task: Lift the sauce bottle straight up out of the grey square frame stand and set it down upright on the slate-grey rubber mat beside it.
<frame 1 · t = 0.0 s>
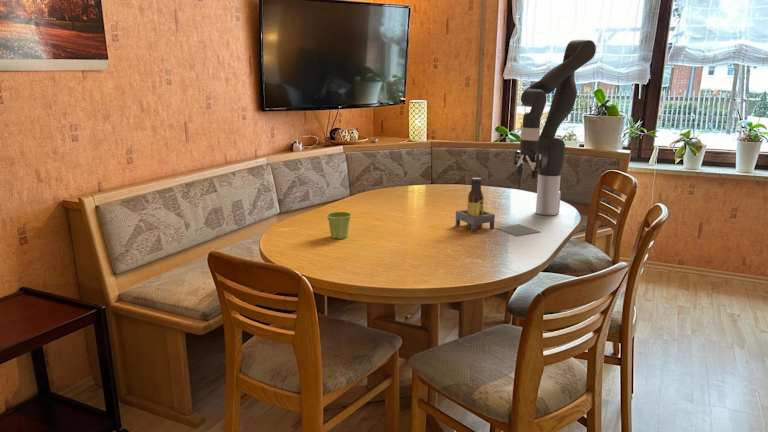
hand: (526, 177, 243), 17 cm above the table, tool pointing down, fingers open, 8 cm apart
sauce bottle: (474, 227, 231), on the table
plant pot: (339, 237, 217), on the table
grey square frame stand: (474, 227, 231), on the table
slate mat: (518, 230, 226), on the table
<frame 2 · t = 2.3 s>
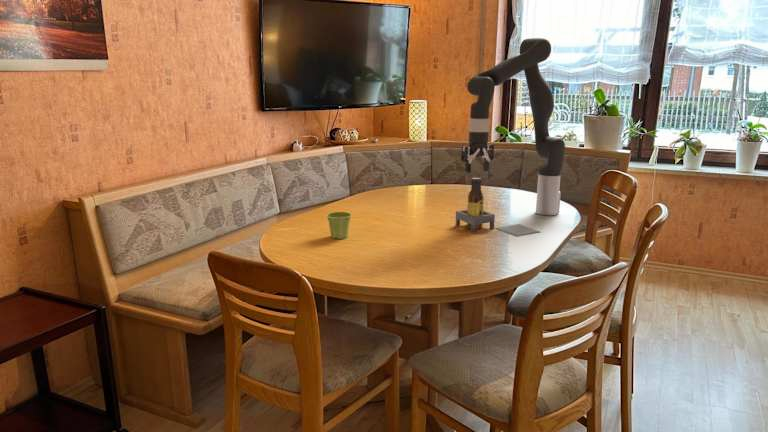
hand: (477, 172, 225), 22 cm above the table, tool pointing down, fingers open, 8 cm apart
nothing on the table moved.
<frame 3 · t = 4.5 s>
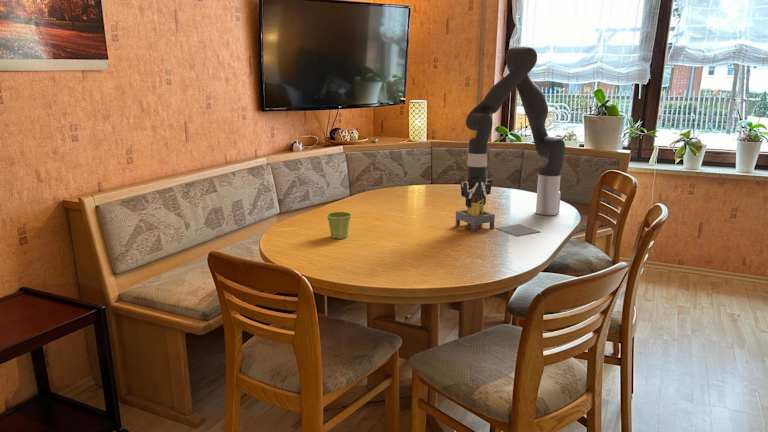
hand: (475, 206, 229), 9 cm above the table, tool pointing down, fingers closed on sauce bottle, 6 cm apart
sauce bottle: (474, 227, 231), on the table, touching gripper
everything else where it was.
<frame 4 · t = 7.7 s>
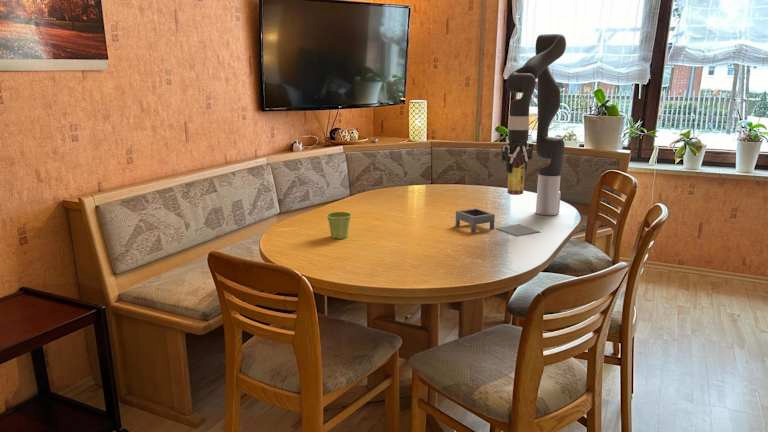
hand: (516, 171, 221), 23 cm above the table, tool pointing down, fingers closed on sauce bottle, 6 cm apart
sauce bottle: (515, 194, 224), point 14 cm above the table, touching gripper
everything else where it was.
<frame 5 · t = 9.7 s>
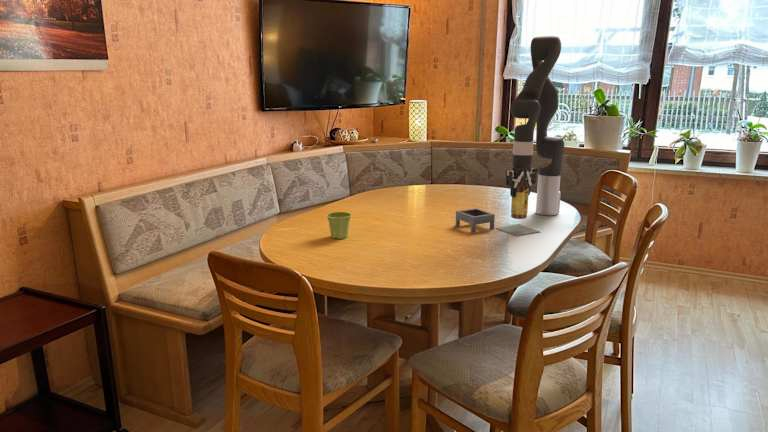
hand: (520, 195, 223), 14 cm above the table, tool pointing down, fingers closed on sauce bottle, 6 cm apart
sauce bottle: (518, 218, 225), point 5 cm above the table, touching gripper
everything else where it was.
when the fingers open (10 cm above the table, at t = 11.4 s): sauce bottle drops 1 cm, resting on slate mat.
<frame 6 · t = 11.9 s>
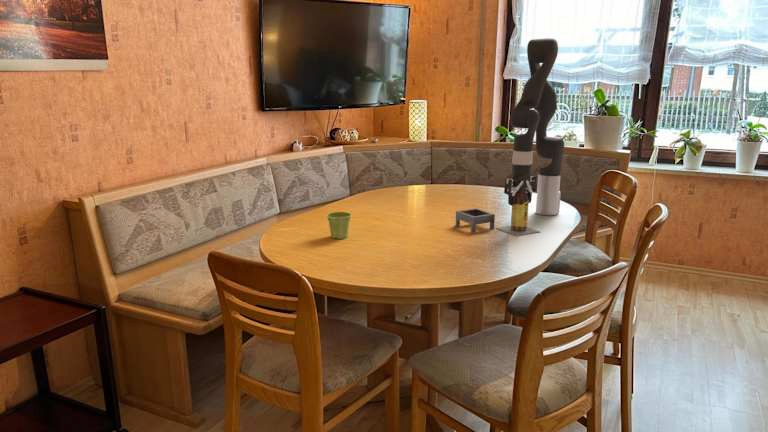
hand: (519, 203, 224), 11 cm above the table, tool pointing down, fingers open, 8 cm apart
sauce bottle: (518, 229, 226), resting on slate mat
everything else where it was.
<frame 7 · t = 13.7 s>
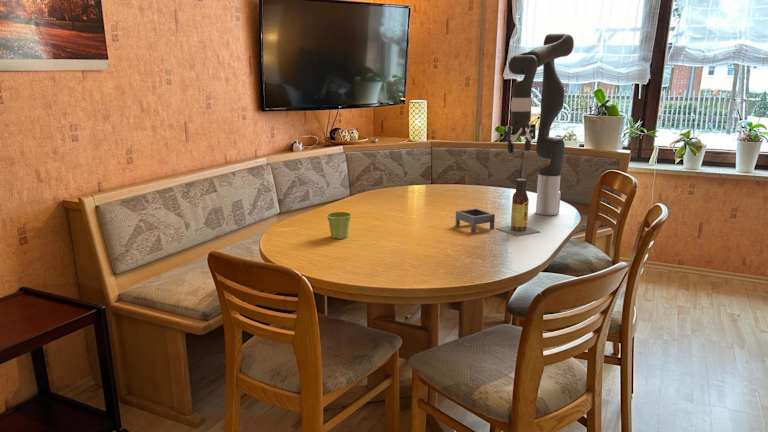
hand: (519, 151, 224), 30 cm above the table, tool pointing down, fingers open, 8 cm apart
nothing on the table moved.
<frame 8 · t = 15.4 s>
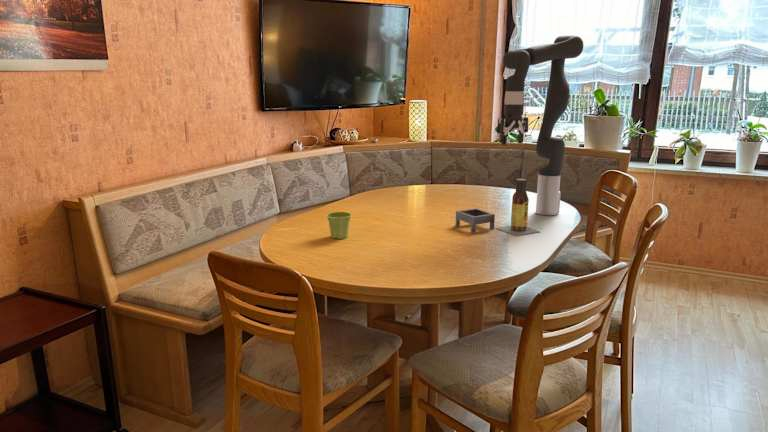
hand: (511, 144, 232), 32 cm above the table, tool pointing down, fingers open, 8 cm apart
nothing on the table moved.
at the end: sauce bottle inside the target area on the slate mat (0.3 cm from its centre), point 0.2 cm above the slate mat's base; sauce bottle tilted 0°; sauce bottle touching slate mat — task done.
